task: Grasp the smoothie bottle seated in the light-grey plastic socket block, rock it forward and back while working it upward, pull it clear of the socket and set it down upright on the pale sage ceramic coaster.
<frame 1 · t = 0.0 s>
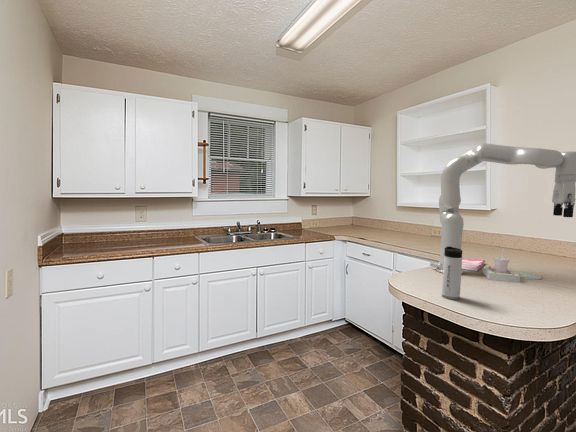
hand: (562, 216, 138), 31 cm above the worktop, fingers open, 9 cm apart
smoothie: (500, 277, 147), resting in socket block
dish towel: (464, 266, 172), on the worktop
coaster: (528, 276, 149), on the worktop
travel mug: (450, 297, 119), on the worktop
socket block: (500, 277, 147), on the worktop
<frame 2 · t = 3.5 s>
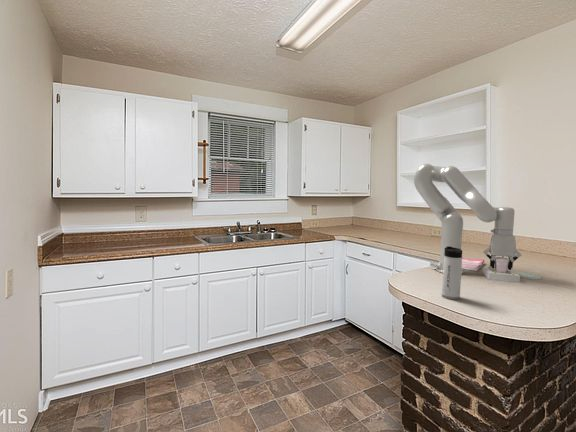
hand: (500, 268, 147), 5 cm above the worktop, fingers closed on smoothie, 6 cm apart
smoothie: (500, 277, 147), resting in socket block, touching gripper
everything else where it was.
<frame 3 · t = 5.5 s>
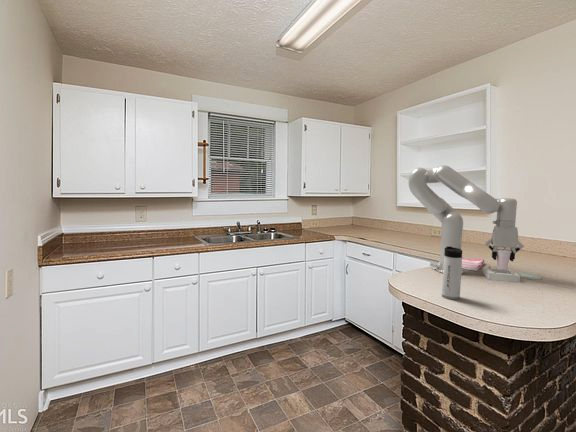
hand: (502, 259, 146), 9 cm above the worktop, fingers closed on smoothie, 6 cm apart
smoothie: (502, 269, 147), point 4 cm above the worktop, touching gripper
everything else where it was.
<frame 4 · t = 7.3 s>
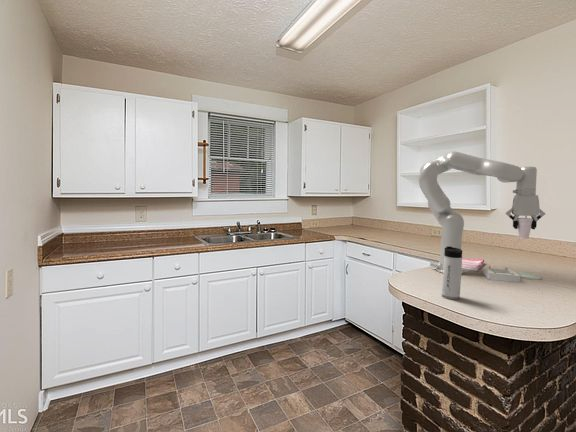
hand: (524, 228, 146), 24 cm above the worktop, fingers closed on smoothie, 6 cm apart
smoothie: (523, 238, 147), point 20 cm above the worktop, touching gripper
everything else where it was.
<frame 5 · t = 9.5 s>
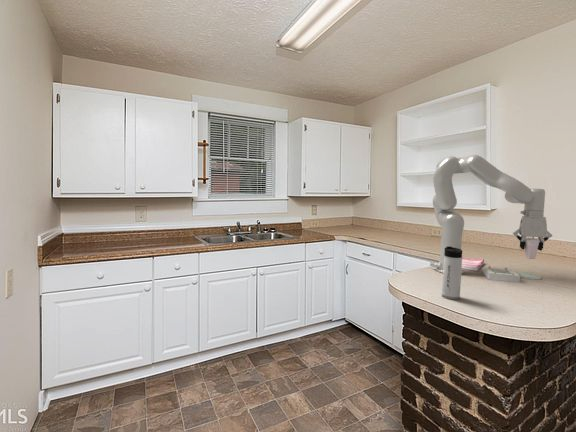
hand: (531, 249, 148), 14 cm above the worktop, fingers closed on smoothie, 6 cm apart
smoothie: (530, 258, 149), point 9 cm above the worktop, touching gripper
everything else where it was.
when the fingers open (6 cm above the worktop, at t = 11.4 s): smoothie drops 1 cm, resting on coaster.
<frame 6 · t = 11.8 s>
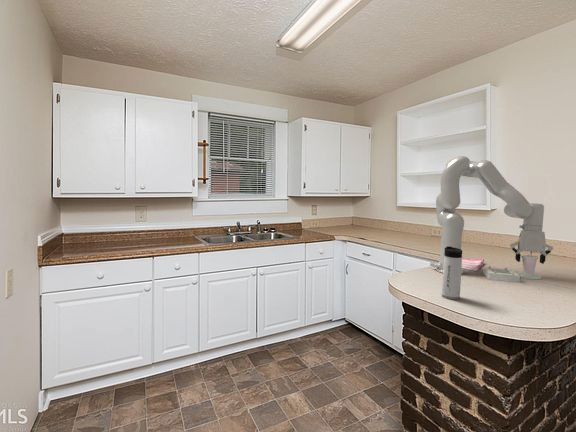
hand: (529, 262, 149), 7 cm above the worktop, fingers open, 9 cm apart
smoothie: (528, 275, 149), resting on coaster
everything else where it was.
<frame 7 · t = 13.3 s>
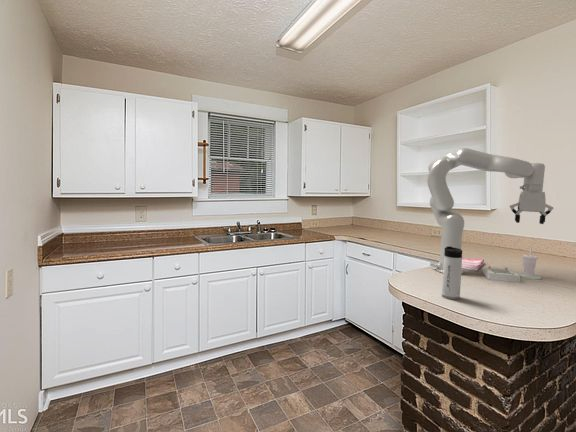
hand: (529, 223, 148), 27 cm above the worktop, fingers open, 9 cm apart
nothing on the worktop moved.
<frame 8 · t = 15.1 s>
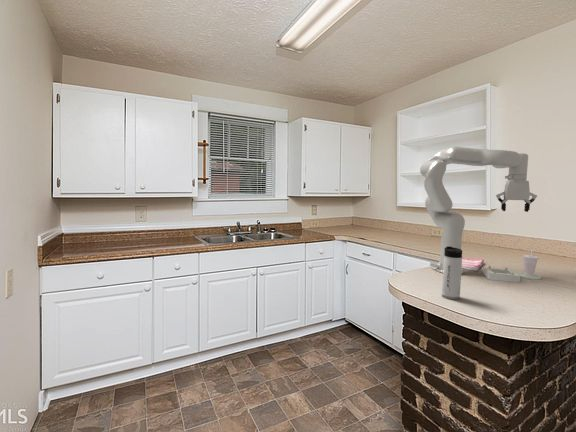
hand: (514, 211, 154), 32 cm above the worktop, fingers open, 9 cm apart
nothing on the worktop moved.
at the end: smoothie 0.1 cm from the coaster (horizontally); smoothie tilted 2°; smoothie point 0.5 cm above the worktop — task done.
